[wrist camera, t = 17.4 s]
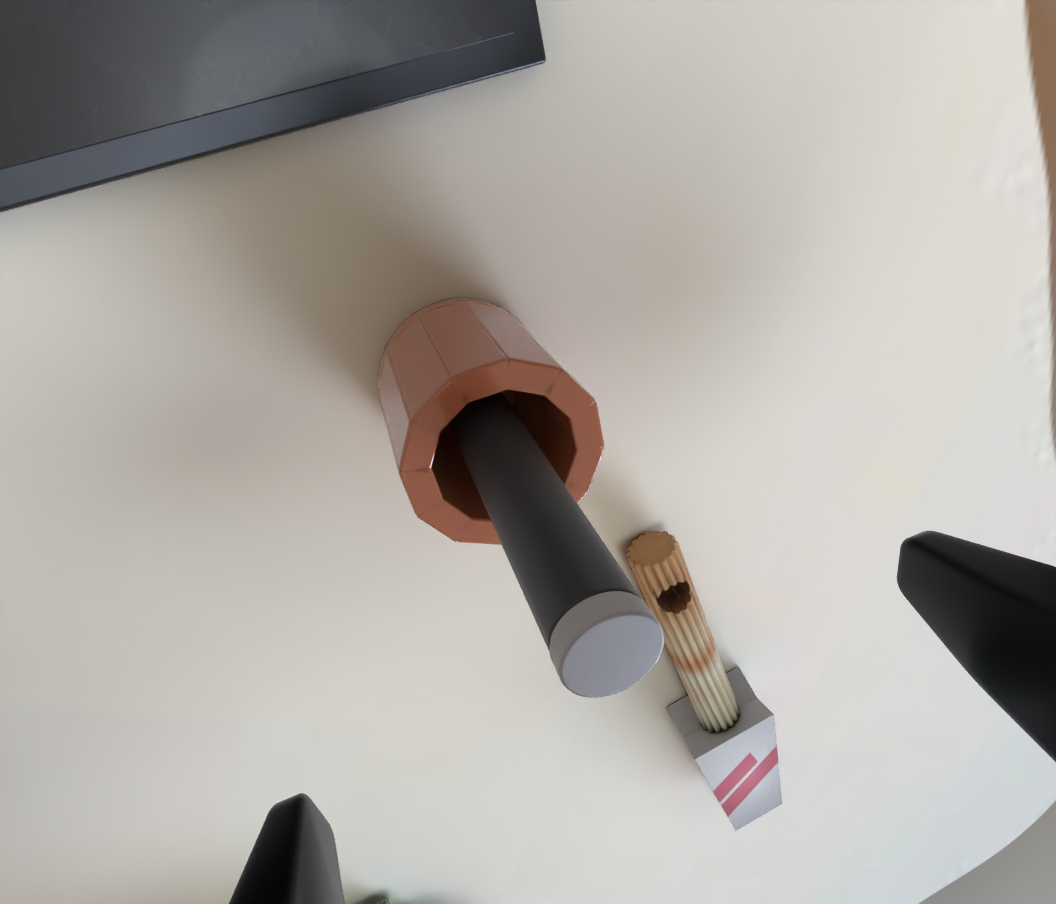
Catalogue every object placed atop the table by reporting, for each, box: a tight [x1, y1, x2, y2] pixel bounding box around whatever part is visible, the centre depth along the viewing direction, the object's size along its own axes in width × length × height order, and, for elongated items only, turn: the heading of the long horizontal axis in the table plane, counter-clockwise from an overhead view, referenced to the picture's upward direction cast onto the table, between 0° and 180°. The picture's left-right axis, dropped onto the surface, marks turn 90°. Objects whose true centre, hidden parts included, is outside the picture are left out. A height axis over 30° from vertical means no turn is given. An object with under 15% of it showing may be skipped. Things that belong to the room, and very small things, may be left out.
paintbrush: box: [627, 531, 782, 831], centre depth 28 cm, size 4×3×20 cm
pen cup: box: [378, 298, 604, 545], centre depth 16 cm, size 5×5×5 cm
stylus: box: [448, 392, 664, 697], centre depth 13 cm, size 2×2×10 cm
